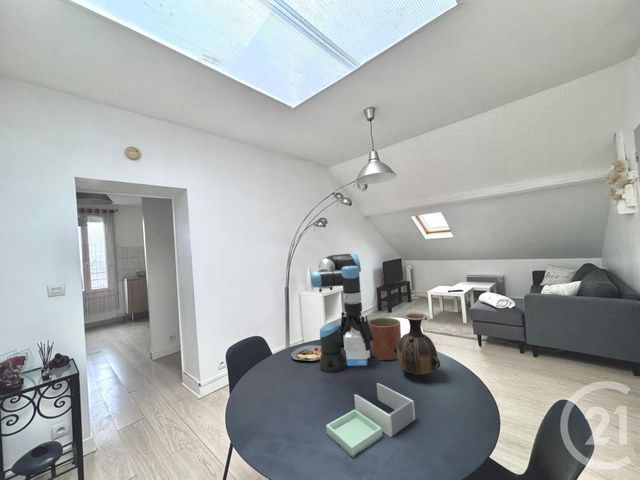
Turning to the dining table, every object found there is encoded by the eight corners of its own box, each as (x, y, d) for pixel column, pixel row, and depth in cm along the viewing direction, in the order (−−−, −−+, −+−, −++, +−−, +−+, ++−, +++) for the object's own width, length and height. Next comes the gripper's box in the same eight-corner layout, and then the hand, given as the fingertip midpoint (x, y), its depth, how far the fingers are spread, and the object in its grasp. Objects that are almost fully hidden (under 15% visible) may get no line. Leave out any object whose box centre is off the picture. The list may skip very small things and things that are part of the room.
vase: (388, 370, 138) (384, 313, 139) (417, 361, 145) (412, 308, 146) (420, 391, 117) (414, 324, 118) (451, 379, 124) (446, 316, 125)
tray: (326, 433, 94) (326, 425, 95) (355, 416, 103) (354, 409, 103) (352, 457, 83) (351, 448, 83) (382, 436, 91) (381, 427, 91)
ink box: (367, 366, 105) (364, 332, 106) (346, 365, 107) (344, 332, 108) (367, 357, 114) (365, 326, 114) (348, 357, 115) (346, 326, 116)
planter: (407, 360, 148) (404, 325, 148) (373, 363, 148) (371, 327, 149) (397, 347, 167) (395, 316, 167) (368, 349, 167) (365, 318, 168)
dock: (355, 412, 105) (354, 394, 105) (379, 398, 113) (378, 382, 113) (390, 437, 90) (389, 416, 91) (415, 419, 98) (413, 400, 99)
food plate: (335, 348, 172) (334, 343, 173) (324, 365, 150) (323, 358, 151) (300, 347, 181) (300, 342, 181) (285, 363, 159) (285, 357, 159)
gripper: (329, 300, 119) (332, 348, 118) (366, 307, 100) (371, 365, 99) (341, 297, 123) (345, 344, 123) (379, 304, 104) (384, 359, 103)
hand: (356, 353), depth 111 cm, fingers closed on ink box, 11 cm apart
